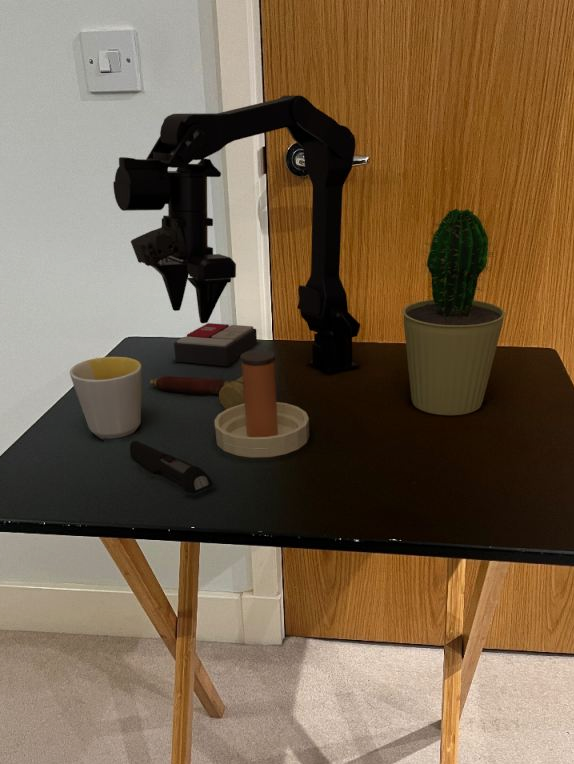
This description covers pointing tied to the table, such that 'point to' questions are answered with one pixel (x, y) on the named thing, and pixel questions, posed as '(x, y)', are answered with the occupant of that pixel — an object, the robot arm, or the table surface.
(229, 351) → the gray and red box
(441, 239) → the potted cactus
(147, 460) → the electric trimmer
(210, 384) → the gavel
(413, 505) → the table surface
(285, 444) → the bowl
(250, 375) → the copper tin
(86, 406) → the mug
